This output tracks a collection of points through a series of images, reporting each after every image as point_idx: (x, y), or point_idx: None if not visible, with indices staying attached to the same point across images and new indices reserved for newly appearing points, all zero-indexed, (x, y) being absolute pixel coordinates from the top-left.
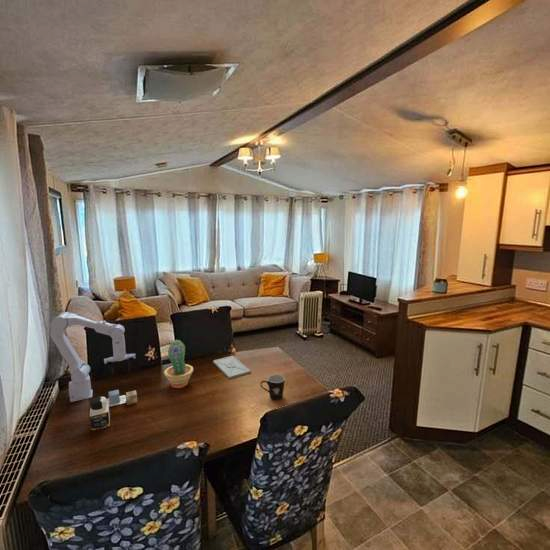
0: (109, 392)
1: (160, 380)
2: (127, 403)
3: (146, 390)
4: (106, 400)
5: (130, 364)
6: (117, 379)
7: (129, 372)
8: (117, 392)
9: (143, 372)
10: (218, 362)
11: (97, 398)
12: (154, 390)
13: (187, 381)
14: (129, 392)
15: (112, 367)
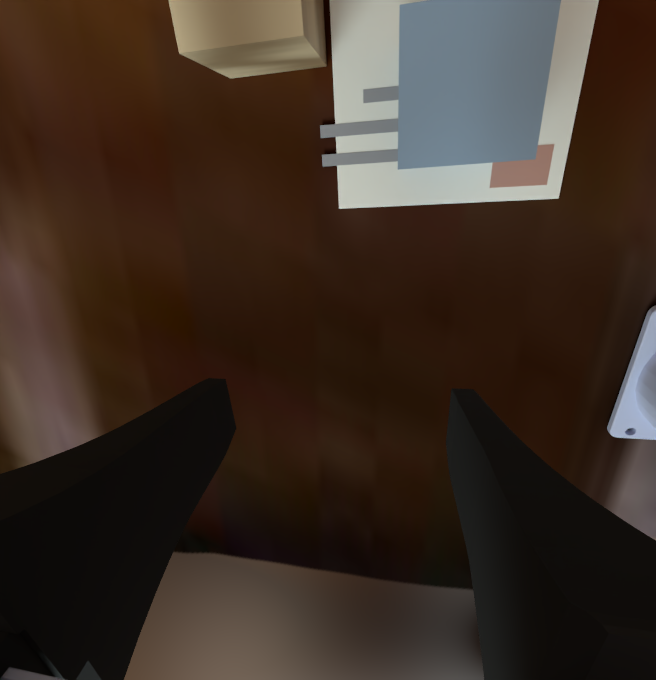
0: (528, 127)
1: (83, 338)
2: None
3: (159, 215)
4: (531, 165)
5: (64, 463)
6: (393, 495)
7: (213, 379)
8: (419, 70)
9: (223, 498)
10: None
11: None
12: (89, 181)
13: None
14: (256, 10)
15: (518, 516)
